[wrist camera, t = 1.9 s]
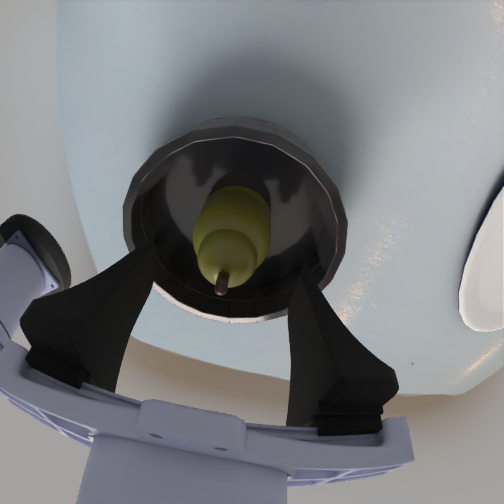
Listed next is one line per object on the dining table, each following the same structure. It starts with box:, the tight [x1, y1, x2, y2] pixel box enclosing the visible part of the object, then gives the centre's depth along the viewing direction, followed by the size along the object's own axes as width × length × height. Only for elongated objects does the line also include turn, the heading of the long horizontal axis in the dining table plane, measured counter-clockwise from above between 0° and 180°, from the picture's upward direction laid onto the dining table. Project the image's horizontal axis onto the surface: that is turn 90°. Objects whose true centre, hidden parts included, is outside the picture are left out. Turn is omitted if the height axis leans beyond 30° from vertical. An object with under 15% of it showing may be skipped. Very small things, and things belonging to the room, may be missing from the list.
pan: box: [123, 117, 348, 323], centre depth 18 cm, size 13×13×4 cm
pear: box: [193, 186, 271, 296], centre depth 16 cm, size 5×5×7 cm
